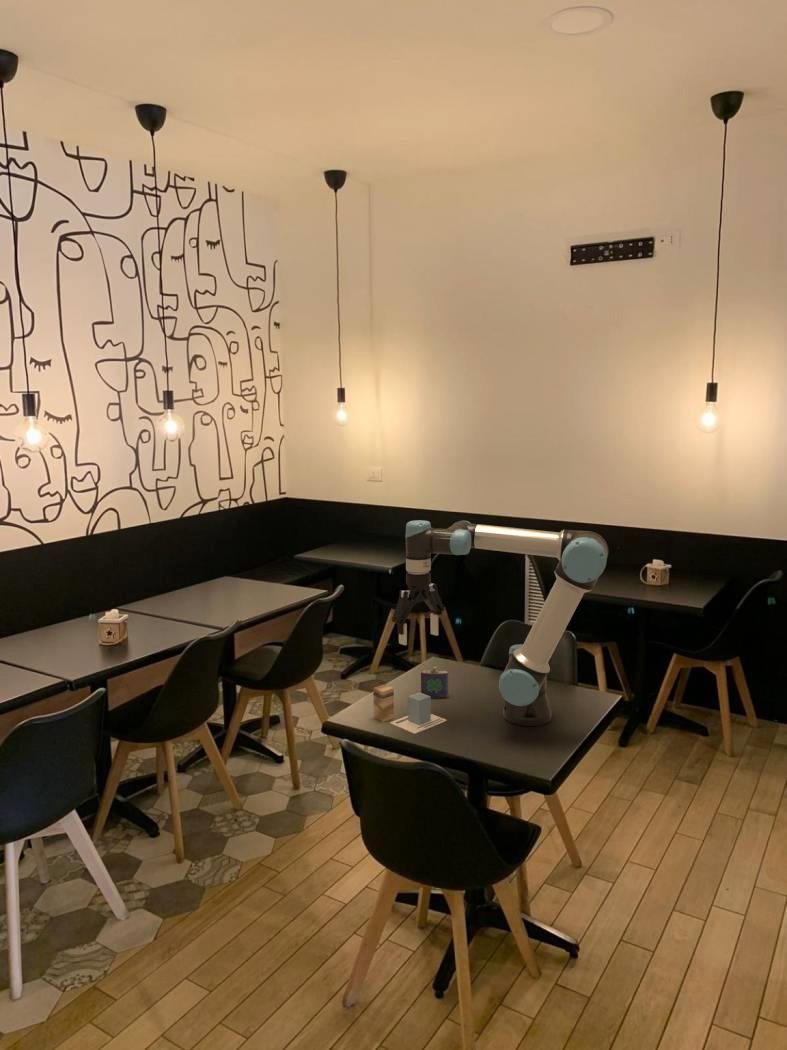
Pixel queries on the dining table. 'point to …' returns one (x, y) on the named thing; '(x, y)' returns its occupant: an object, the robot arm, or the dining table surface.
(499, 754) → the dining table surface
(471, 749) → the dining table surface
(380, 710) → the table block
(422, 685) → the flask
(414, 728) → the menu card
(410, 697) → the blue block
